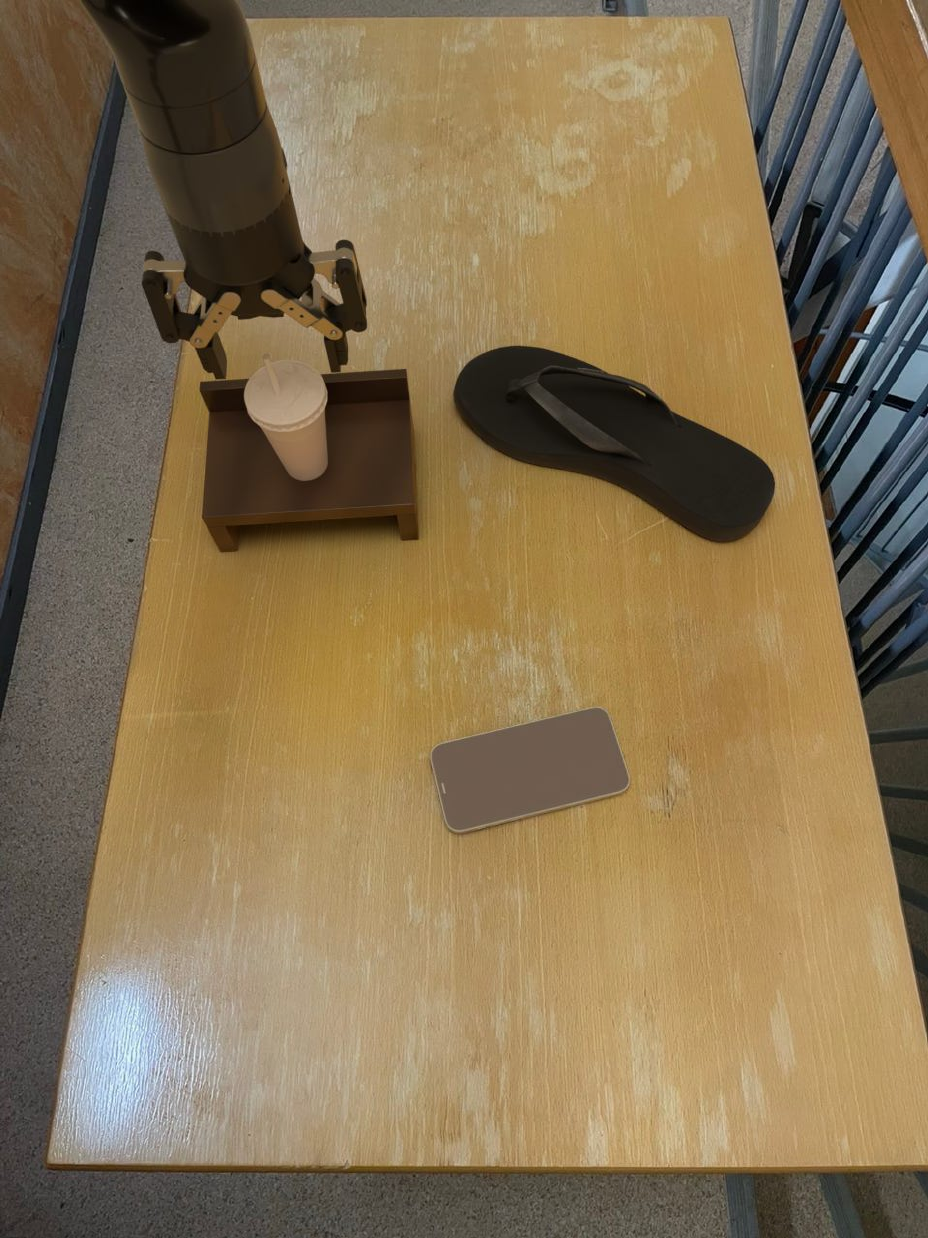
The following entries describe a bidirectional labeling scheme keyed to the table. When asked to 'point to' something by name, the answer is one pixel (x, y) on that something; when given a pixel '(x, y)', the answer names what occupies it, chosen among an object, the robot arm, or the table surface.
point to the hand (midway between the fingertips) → (279, 366)
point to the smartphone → (528, 769)
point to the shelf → (356, 447)
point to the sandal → (613, 437)
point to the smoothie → (291, 414)
